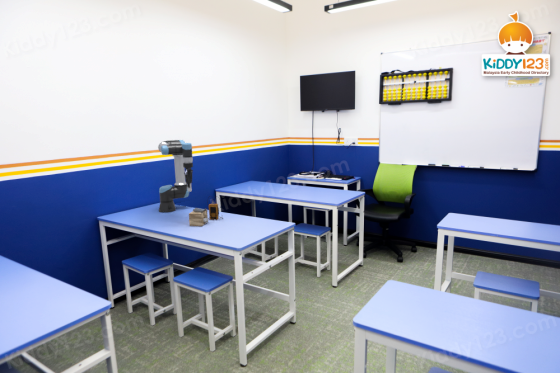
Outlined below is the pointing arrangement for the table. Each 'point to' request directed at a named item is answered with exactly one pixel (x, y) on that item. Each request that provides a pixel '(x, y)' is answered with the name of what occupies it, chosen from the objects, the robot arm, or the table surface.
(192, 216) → the hitch block
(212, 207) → the multimeter
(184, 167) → the robot arm
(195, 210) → the keeper flap
